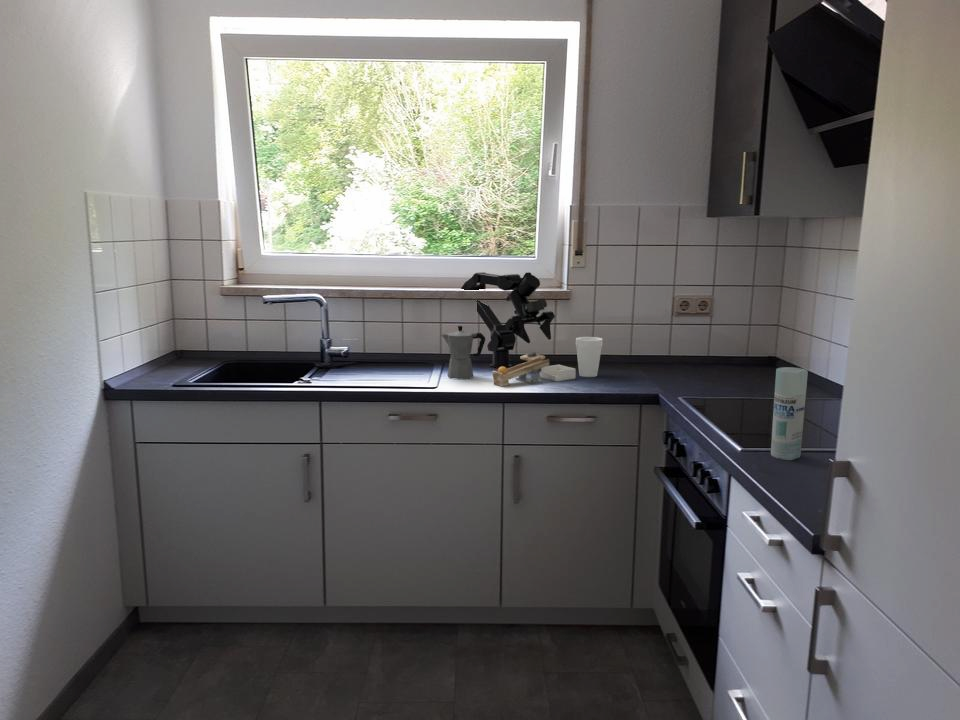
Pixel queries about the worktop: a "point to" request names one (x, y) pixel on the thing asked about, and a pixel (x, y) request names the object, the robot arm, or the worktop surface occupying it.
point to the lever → (521, 368)
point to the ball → (502, 370)
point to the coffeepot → (462, 352)
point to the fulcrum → (532, 380)
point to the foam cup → (588, 355)
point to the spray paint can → (788, 412)
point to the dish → (557, 372)
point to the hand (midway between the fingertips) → (539, 341)
